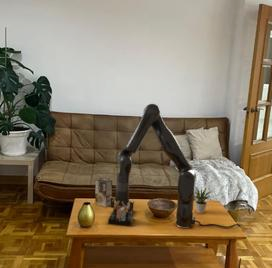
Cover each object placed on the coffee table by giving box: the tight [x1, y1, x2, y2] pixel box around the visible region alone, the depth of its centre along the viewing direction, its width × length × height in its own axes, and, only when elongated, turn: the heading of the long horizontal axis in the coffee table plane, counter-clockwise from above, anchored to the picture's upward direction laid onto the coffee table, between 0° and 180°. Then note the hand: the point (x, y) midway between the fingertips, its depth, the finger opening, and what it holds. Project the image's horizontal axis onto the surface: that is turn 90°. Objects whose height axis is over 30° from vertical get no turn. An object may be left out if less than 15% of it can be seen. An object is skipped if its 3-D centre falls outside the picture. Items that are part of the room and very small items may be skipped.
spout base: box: [107, 212, 135, 227], centre depth 210 cm, size 13×12×3 cm
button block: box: [112, 206, 134, 215], centre depth 223 cm, size 11×9×4 cm
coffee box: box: [94, 177, 113, 208], centre depth 234 cm, size 9×6×16 cm
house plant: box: [194, 186, 212, 214], centre depth 229 cm, size 14×14×16 cm
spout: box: [117, 207, 126, 220], centre depth 209 cm, size 8×2×5 cm, turn 158°
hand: (121, 216), depth 209 cm, fingers open, 6 cm apart
